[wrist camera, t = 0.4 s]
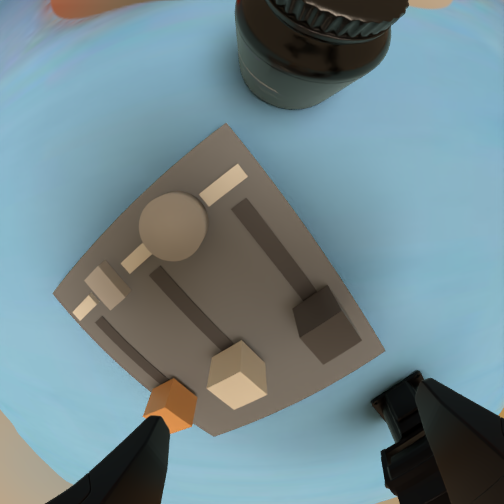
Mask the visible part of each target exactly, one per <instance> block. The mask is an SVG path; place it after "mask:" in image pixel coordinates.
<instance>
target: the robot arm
mask: <svg viewBox="0 0 504 504" xmlns="http://www.w3.org/2000/svg"><path fill="white" fill-rule="evenodd" d="M371 404H372V406H373V407H374V408H375V409H376V411H377V412H378V413H379V414H380V415H381V417H382V418H383V419H384V420H385V422H387V425H388V427H389V429H390V432H391V434H392V436H393V439H394V441H395V444H393V445H392V446H390V447H388V448H387V449H384V450H382V451H381V461H382V467H383V473H384V479H385V487H386V488H389V489H390V490H391V492H392V493H393V494H394V495H396V496H398V499H399V502H400V504H504V418H500V416H498V415H496V414H494V413H493V412H491V411H489V410H487V409H485V408H484V407H482V406H480V405H478V404H477V403H475V402H473V401H471V400H469V399H468V398H466V397H464V396H462V395H461V394H459V393H457V392H455V391H454V390H452V389H450V388H448V387H447V386H445V385H443V384H441V383H440V382H438V381H436V380H434V379H433V378H428V379H425V380H424V379H423V376H422V374H421V372H420V371H417V372H415V373H414V374H412V375H411V376H409V377H408V378H406V379H405V380H403V381H402V382H400V383H399V384H397V385H396V386H394V387H393V388H391V389H390V390H388V391H386V392H385V393H383V394H382V395H380V396H378V397H377V398H375V399H373V400H372V401H371ZM169 440H170V430H169V428H168V426H167V425H166V423H165V421H164V419H163V418H162V417H161V416H156V415H150V416H149V417H148V418H146V419H145V420H144V421H143V422H142V423H141V424H140V425H139V426H138V427H137V428H136V429H135V430H134V431H133V432H132V433H131V434H130V435H129V436H128V437H127V438H126V439H125V440H123V441H122V442H121V443H120V444H119V445H118V446H117V447H116V448H115V449H114V450H113V451H112V452H111V453H109V454H108V455H107V456H106V457H105V458H104V459H103V460H102V461H101V462H100V463H98V464H97V465H96V466H95V467H94V468H93V469H92V470H91V471H90V472H89V473H87V474H86V475H85V476H84V477H83V478H81V479H80V480H79V481H78V482H77V483H75V484H74V485H73V486H71V487H70V488H69V489H67V490H66V491H64V492H63V493H61V494H60V495H58V496H57V497H55V498H53V499H52V500H50V501H49V502H47V503H45V504H161V499H162V494H163V489H164V483H165V478H166V473H167V466H168V453H169Z"/></svg>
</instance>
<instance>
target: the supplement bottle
mask: <svg viewBox="0 0 504 504" xmlns="http://www.w3.org/2000/svg"><path fill="white" fill-rule="evenodd" d="M408 6H409V3H408V0H236V5H235V23H236V34H237V45H238V57H239V65H240V71H241V74H242V77H243V79H244V81H245V83H246V84H247V86H248V87H249V89H250V90H251V91H252V92H253V93H254V94H255V95H256V96H258V97H259V98H260V99H262V100H263V101H265V102H267V103H269V104H271V105H274V106H276V107H280V108H285V109H304V108H309V107H312V106H315V105H317V104H319V103H321V102H323V101H324V100H326V99H328V98H329V97H331V96H332V95H334V94H336V93H337V92H339V91H340V90H342V89H343V88H345V87H347V86H348V85H350V84H351V83H353V82H355V81H356V80H358V79H360V78H361V77H363V76H365V75H366V74H368V73H369V72H371V71H372V70H373V69H374V68H376V67H377V66H378V65H379V64H380V63H381V61H382V60H383V59H384V57H385V56H386V54H387V52H388V49H389V46H390V41H391V25H392V24H394V23H395V22H396V21H397V20H398V19H399V18H400V17H402V16H403V15H404V14H405V11H406V9H407V8H408Z"/></svg>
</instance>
